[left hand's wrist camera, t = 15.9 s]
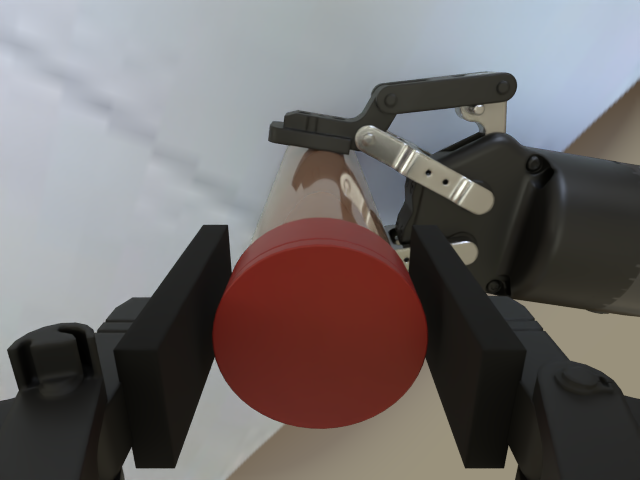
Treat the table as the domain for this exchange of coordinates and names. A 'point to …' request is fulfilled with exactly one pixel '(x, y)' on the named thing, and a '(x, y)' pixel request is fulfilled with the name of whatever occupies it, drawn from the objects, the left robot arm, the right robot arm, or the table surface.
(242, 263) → the lid
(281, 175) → the jar
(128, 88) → the table surface
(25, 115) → the table surface
